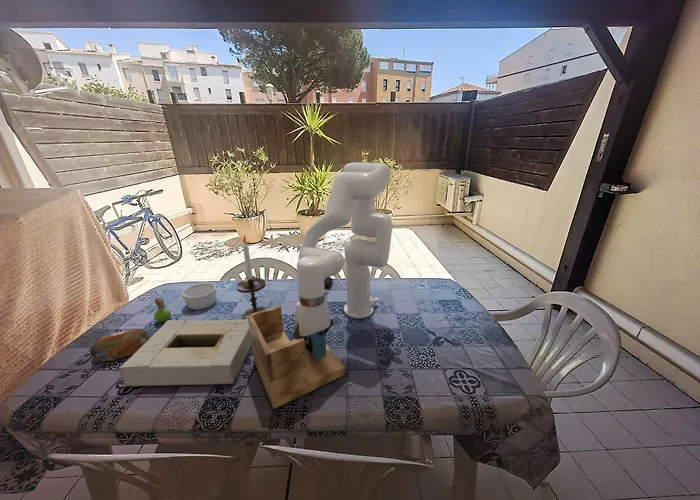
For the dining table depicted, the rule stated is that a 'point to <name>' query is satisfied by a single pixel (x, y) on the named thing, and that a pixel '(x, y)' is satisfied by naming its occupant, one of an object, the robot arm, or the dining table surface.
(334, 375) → the shelf
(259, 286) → the candlestick
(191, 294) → the ramekin
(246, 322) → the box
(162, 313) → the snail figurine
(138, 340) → the tin
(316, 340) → the teal rectangular block
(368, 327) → the dining table surface
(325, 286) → the carrying case
